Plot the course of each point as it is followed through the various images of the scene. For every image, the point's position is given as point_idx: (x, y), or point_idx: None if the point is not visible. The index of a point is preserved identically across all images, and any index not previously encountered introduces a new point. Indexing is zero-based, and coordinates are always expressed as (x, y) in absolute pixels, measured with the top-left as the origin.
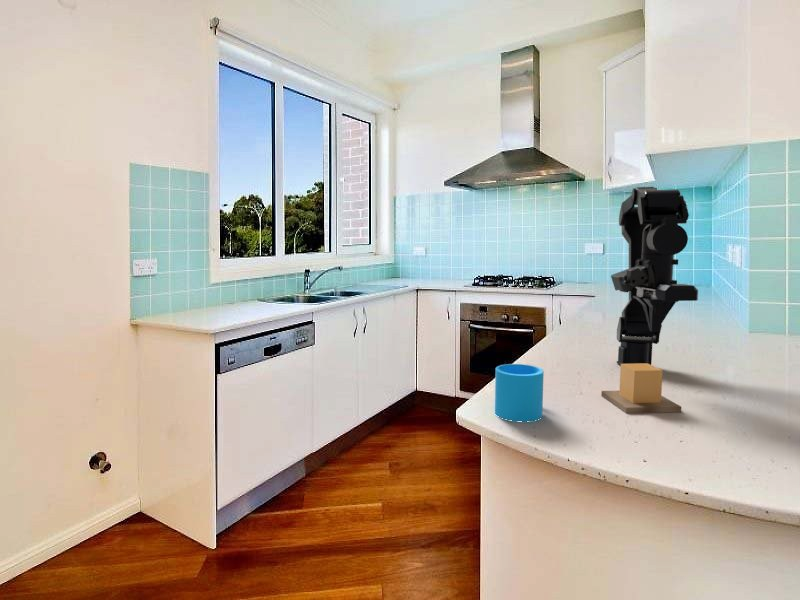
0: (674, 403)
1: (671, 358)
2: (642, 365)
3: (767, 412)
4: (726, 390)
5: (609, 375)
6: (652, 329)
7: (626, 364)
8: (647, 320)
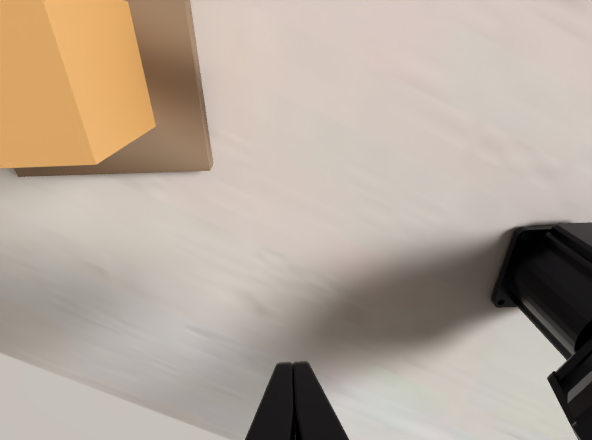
0: (49, 171)
1: None
2: (26, 110)
3: (97, 357)
4: (268, 363)
5: (476, 127)
6: (272, 376)
7: (20, 9)
8: (336, 432)
